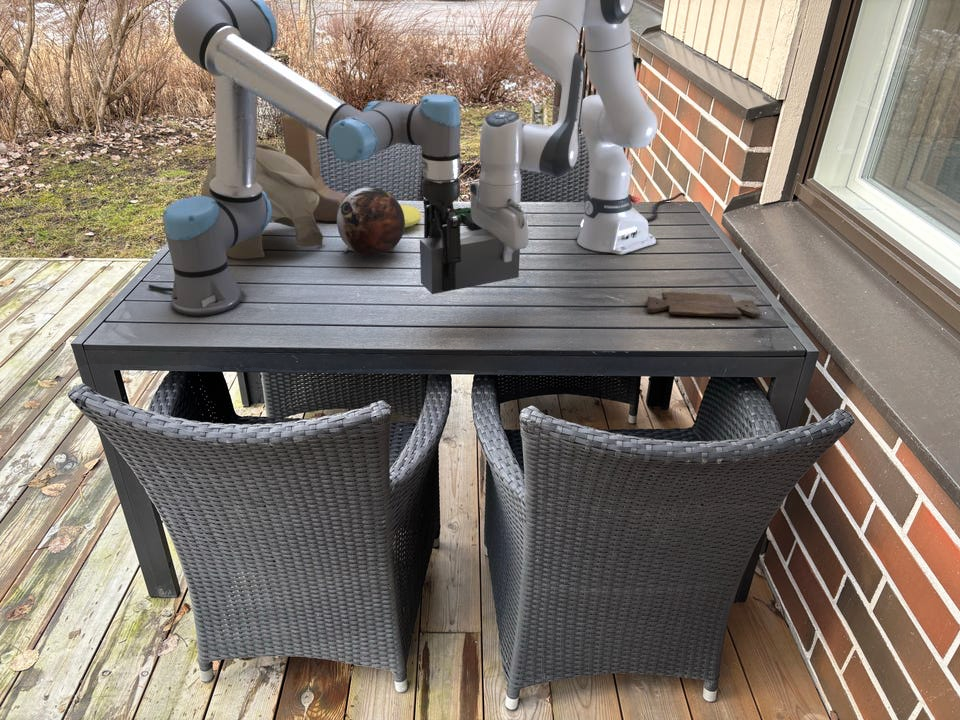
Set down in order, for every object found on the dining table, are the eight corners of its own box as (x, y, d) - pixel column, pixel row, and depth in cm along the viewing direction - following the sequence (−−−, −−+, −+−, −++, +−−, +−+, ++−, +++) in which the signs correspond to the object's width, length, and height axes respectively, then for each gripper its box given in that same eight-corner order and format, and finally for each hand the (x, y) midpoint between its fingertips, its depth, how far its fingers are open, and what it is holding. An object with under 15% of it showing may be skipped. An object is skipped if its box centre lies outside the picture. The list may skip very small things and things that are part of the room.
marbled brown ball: (330, 217, 201) (372, 164, 193) (380, 258, 206) (423, 208, 197) (307, 245, 182) (352, 187, 173) (363, 289, 186) (409, 234, 178)
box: (505, 267, 164) (507, 225, 158) (518, 277, 159) (520, 234, 154) (420, 283, 155) (419, 239, 150) (432, 294, 151) (431, 249, 145)
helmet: (337, 253, 194) (330, 140, 179) (228, 274, 179) (210, 153, 164) (298, 224, 213) (288, 120, 198) (196, 241, 198) (178, 130, 183)
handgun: (467, 223, 206) (446, 206, 217) (467, 232, 208) (445, 215, 219) (516, 216, 213) (492, 199, 224) (515, 225, 214) (492, 209, 226)
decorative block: (341, 222, 212) (332, 118, 197) (293, 219, 214) (280, 116, 199) (348, 214, 219) (340, 113, 204) (301, 211, 221) (289, 110, 205)
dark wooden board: (642, 297, 172) (648, 316, 163) (643, 291, 171) (649, 310, 162) (751, 300, 171) (762, 319, 162) (752, 293, 170) (764, 313, 161)
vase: (376, 214, 219) (375, 191, 216) (426, 217, 218) (426, 194, 214) (362, 232, 206) (360, 208, 202) (415, 235, 204) (415, 212, 201)
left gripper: (405, 167, 148) (409, 270, 160) (443, 194, 134) (444, 304, 145) (438, 163, 151) (440, 264, 163) (479, 189, 137) (477, 298, 148)
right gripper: (537, 205, 143) (534, 269, 151) (491, 178, 159) (489, 237, 166) (510, 210, 141) (508, 274, 148) (465, 182, 157) (465, 241, 164)
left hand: (442, 283), depth 154 cm, fingers closed on box, 6 cm apart
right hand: (498, 254), depth 157 cm, fingers closed on box, 6 cm apart
